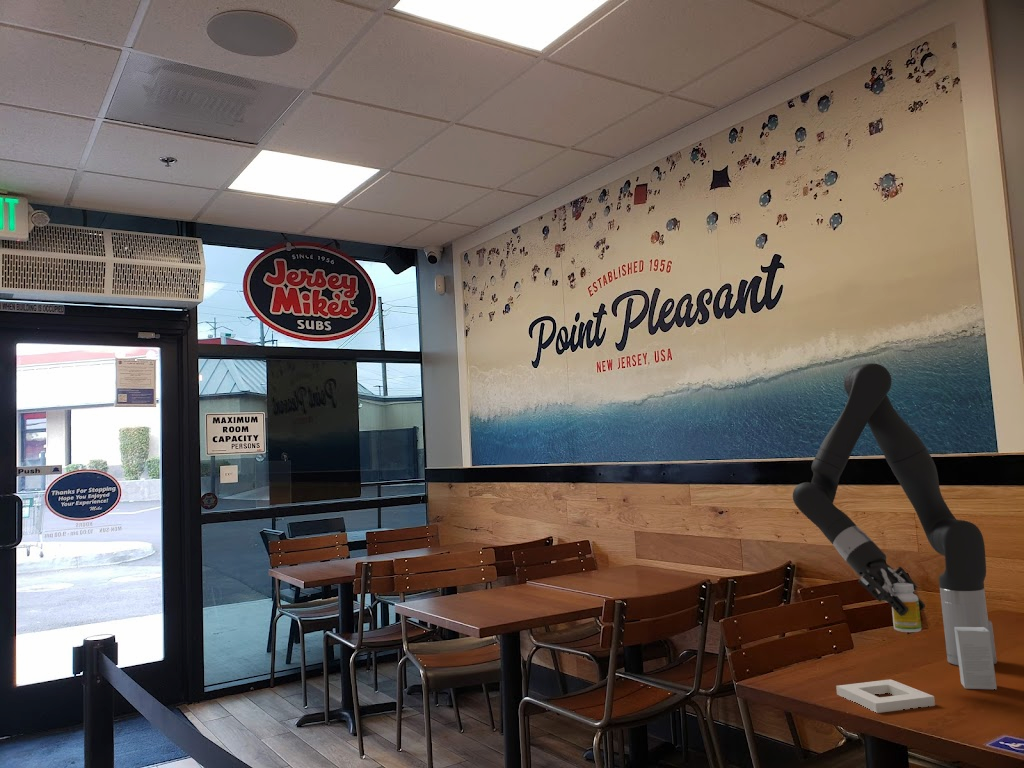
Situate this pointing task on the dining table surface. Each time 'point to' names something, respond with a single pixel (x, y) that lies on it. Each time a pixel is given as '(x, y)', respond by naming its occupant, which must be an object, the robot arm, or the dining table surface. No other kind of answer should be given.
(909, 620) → the supplement bottle
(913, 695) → the hole plate
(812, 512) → the robot arm
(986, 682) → the skincare box
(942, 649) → the dining table surface
